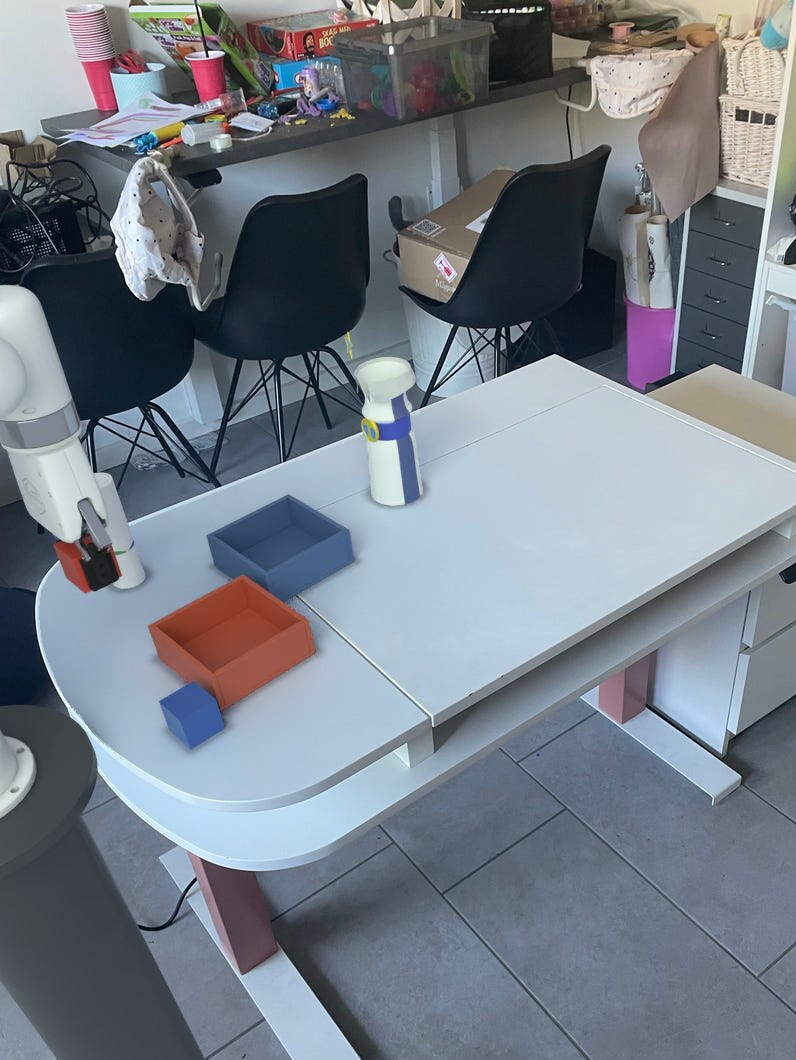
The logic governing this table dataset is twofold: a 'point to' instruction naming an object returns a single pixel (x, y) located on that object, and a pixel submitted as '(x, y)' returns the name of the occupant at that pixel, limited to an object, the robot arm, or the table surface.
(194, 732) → the blue block
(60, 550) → the red block
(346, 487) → the table surface
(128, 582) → the tube
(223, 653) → the red bin
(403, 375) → the water bottle
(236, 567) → the blue bin
